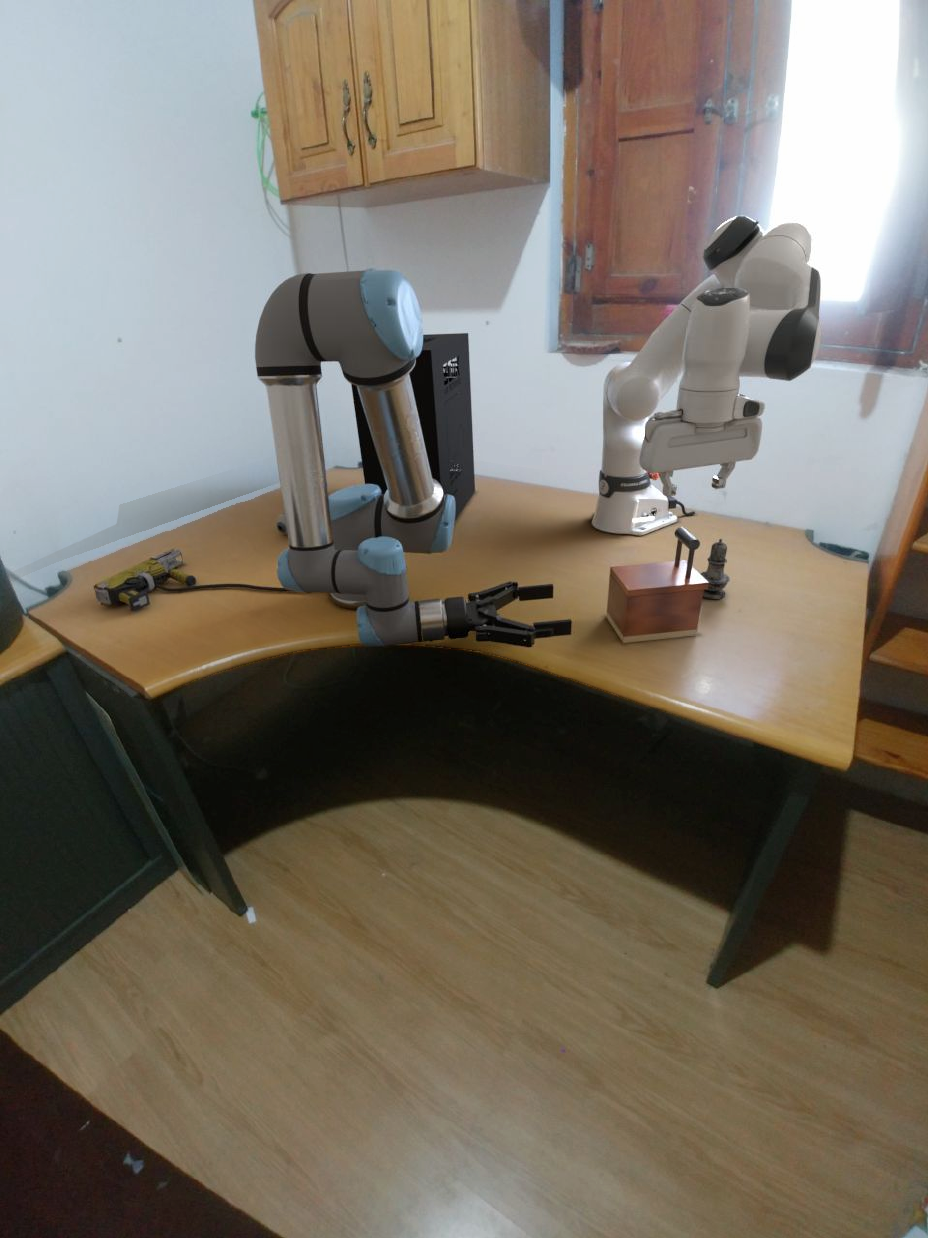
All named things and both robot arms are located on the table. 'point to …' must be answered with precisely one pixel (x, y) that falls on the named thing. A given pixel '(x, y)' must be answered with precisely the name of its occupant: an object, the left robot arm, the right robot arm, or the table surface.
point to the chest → (653, 614)
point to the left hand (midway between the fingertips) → (561, 607)
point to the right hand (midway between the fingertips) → (693, 491)
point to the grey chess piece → (716, 571)
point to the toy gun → (141, 581)
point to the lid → (662, 572)
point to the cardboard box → (435, 418)
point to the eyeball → (281, 523)
